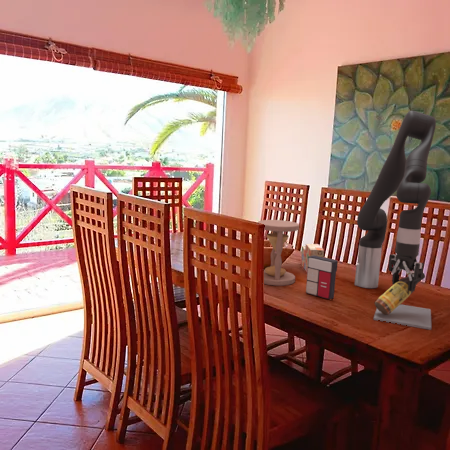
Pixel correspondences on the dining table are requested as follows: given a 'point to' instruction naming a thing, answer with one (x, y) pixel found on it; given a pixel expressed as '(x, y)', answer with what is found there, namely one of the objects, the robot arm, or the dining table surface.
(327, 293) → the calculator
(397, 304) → the sauce bottle
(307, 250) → the cardboard box
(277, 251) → the hourglass
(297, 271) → the dining table surface
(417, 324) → the slate mat
